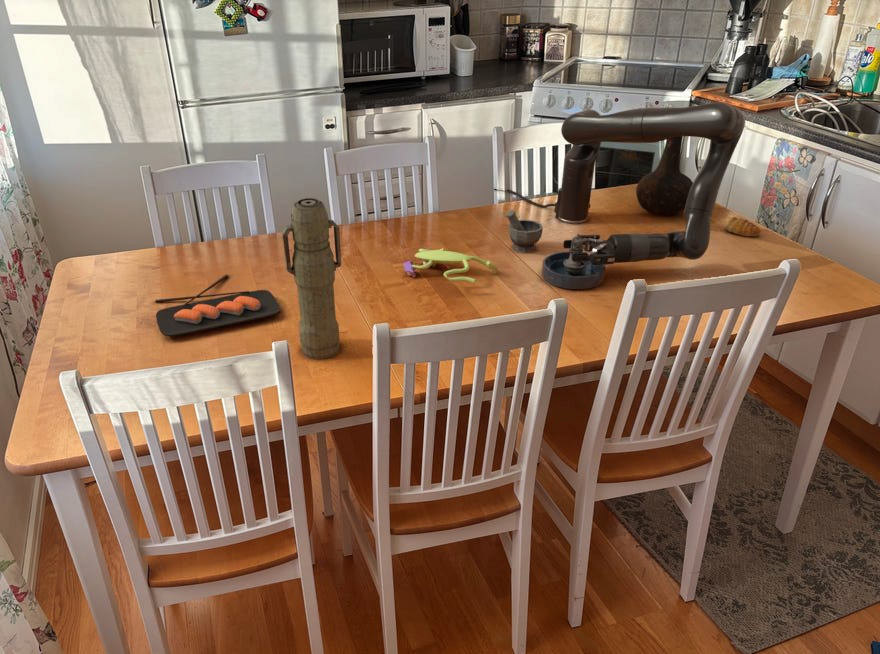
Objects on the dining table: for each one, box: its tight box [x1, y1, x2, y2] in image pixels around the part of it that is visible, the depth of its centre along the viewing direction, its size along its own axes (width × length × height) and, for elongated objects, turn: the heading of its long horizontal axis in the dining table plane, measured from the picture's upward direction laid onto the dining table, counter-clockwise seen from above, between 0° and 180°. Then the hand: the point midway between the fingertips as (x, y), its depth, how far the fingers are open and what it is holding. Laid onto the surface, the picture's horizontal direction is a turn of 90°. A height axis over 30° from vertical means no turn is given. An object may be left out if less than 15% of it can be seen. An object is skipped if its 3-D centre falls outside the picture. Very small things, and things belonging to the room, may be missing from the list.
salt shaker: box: [563, 233, 586, 276], centre depth 192 cm, size 6×6×12 cm
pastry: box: [725, 216, 762, 237], centre depth 219 cm, size 9×7×4 cm
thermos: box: [281, 197, 342, 360], centre depth 157 cm, size 9×12×35 cm
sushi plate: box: [155, 274, 281, 337], centre depth 184 cm, size 29×30×4 cm
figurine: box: [402, 247, 499, 285], centre depth 197 cm, size 18×27×6 cm
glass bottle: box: [635, 136, 694, 216], centre depth 229 cm, size 18×18×28 cm
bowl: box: [541, 251, 606, 290], centre depth 195 cm, size 16×16×4 cm
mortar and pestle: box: [505, 209, 544, 253], centre depth 209 cm, size 11×9×12 cm
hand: (568, 250), depth 192 cm, fingers open, 8 cm apart
